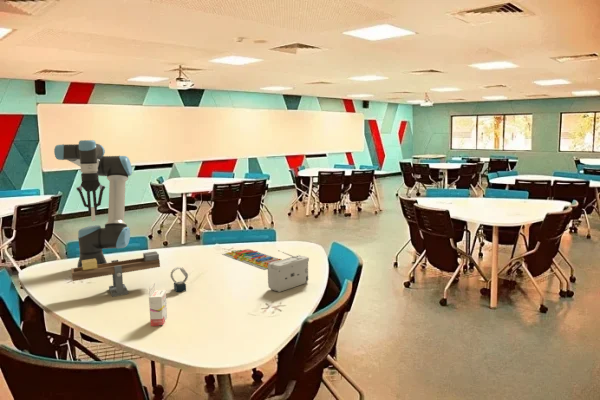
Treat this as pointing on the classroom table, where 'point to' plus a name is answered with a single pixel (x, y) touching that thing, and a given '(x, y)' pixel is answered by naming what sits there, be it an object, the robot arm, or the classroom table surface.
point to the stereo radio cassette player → (288, 273)
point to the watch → (181, 285)
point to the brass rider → (89, 264)
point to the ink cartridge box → (157, 306)
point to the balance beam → (127, 266)
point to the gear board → (252, 258)
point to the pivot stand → (118, 282)
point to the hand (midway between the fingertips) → (93, 220)
